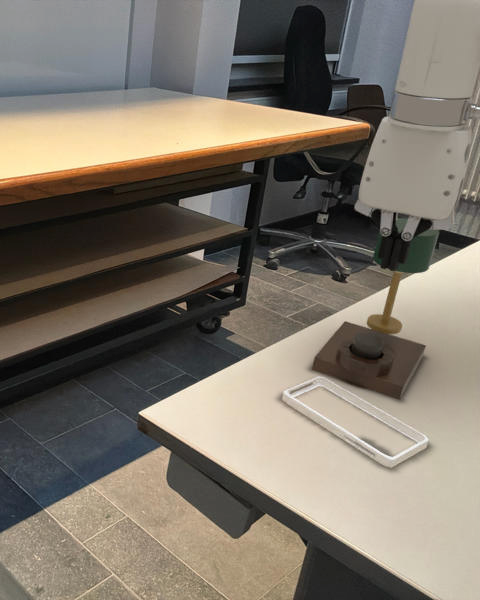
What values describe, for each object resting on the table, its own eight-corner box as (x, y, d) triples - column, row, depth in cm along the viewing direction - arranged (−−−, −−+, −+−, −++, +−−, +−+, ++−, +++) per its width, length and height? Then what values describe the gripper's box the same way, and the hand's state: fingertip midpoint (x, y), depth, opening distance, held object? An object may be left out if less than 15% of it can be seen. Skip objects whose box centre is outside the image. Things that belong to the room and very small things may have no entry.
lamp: (415, 325, 93) (444, 225, 87) (403, 344, 88) (433, 240, 82) (365, 310, 97) (388, 214, 90) (351, 328, 92) (375, 227, 85)
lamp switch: (383, 352, 87) (387, 338, 86) (376, 364, 84) (380, 349, 83) (355, 343, 89) (358, 330, 88) (347, 354, 86) (350, 340, 85)
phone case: (428, 448, 75) (318, 383, 86) (431, 438, 75) (320, 374, 86) (388, 470, 71) (279, 400, 83) (391, 460, 71) (281, 391, 82)
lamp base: (422, 359, 93) (429, 333, 91) (397, 404, 83) (405, 376, 81) (341, 334, 99) (347, 309, 97) (309, 373, 88) (315, 347, 87)
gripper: (511, 114, 72) (464, 272, 80) (366, 98, 80) (337, 243, 88) (501, 126, 66) (452, 294, 74) (347, 106, 74) (318, 260, 82)
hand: (390, 266), depth 81 cm, fingers closed
